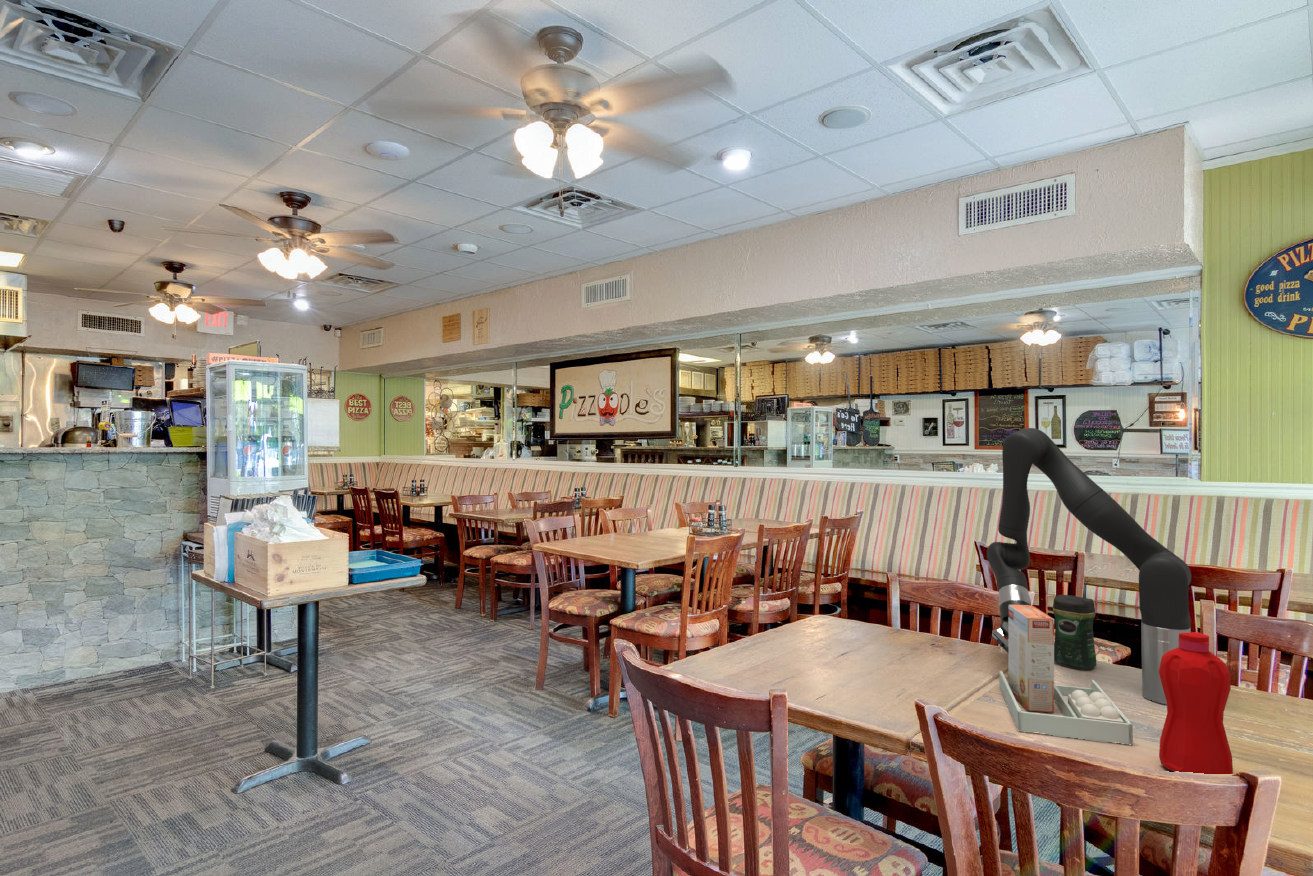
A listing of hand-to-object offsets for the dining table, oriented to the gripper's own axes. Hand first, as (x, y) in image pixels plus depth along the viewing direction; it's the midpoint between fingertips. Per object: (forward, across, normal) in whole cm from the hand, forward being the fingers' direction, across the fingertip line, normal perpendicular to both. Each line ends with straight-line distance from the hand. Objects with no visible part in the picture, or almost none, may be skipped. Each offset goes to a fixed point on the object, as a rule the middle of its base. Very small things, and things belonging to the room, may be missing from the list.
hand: (1023, 668), depth 168 cm
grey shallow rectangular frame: (+14, +4, -7) cm, 17 cm away
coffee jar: (-14, +16, +21) cm, 30 cm away
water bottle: (+31, +21, -24) cm, 44 cm away
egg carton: (+19, +10, -11) cm, 24 cm away
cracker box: (+10, 0, -3) cm, 11 cm away
